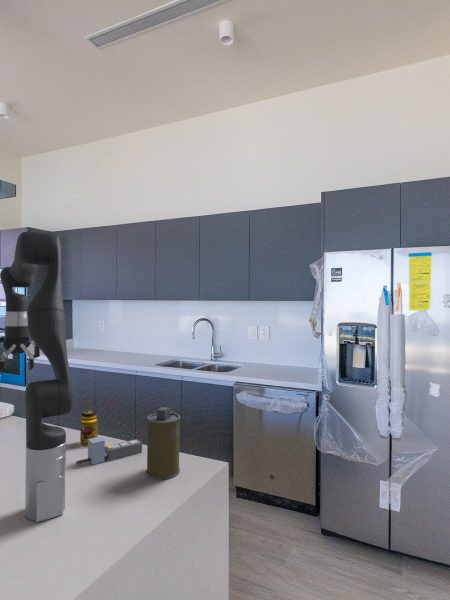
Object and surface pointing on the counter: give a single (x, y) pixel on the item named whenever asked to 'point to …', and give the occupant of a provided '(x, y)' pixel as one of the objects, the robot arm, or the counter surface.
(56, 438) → the robot arm
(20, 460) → the counter surface
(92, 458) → the block
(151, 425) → the canister
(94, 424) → the condiment
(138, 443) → the strip
